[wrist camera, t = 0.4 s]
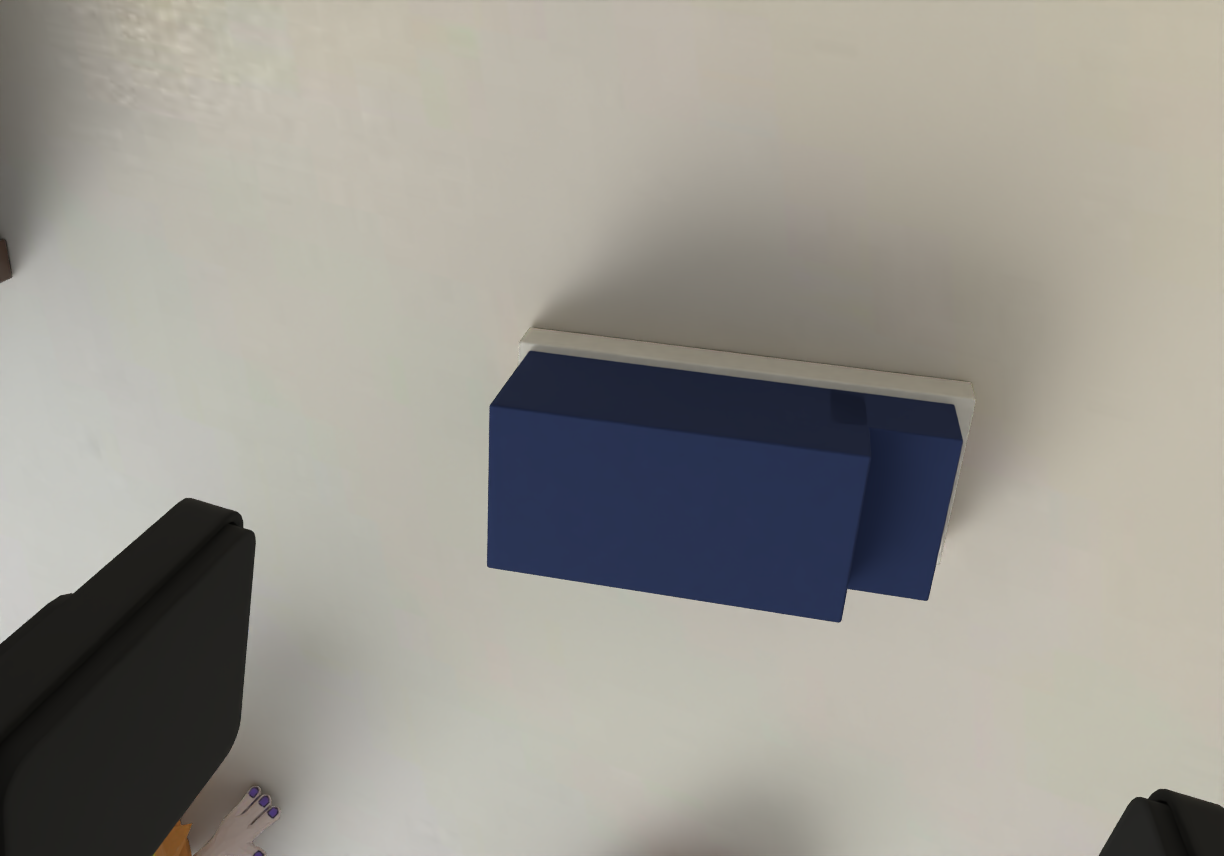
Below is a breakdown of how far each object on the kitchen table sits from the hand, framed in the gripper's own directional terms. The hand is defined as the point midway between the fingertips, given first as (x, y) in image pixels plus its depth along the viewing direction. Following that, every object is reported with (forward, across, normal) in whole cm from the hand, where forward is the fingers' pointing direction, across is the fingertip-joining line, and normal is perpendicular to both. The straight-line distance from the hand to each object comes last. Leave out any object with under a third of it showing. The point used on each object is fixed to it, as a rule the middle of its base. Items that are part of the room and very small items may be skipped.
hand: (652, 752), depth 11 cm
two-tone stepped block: (+19, -1, +5) cm, 20 cm away
